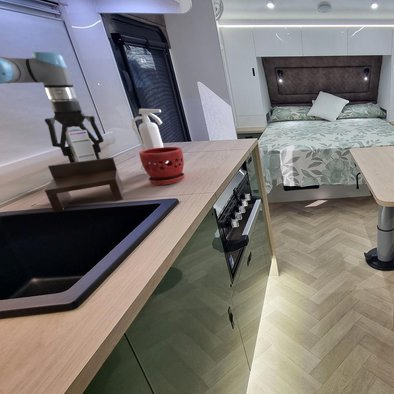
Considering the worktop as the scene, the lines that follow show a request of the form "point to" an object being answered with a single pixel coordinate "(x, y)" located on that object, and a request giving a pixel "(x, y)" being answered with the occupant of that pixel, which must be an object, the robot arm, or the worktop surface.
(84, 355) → the worktop surface
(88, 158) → the syrup box
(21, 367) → the worktop surface
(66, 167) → the bench
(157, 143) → the fire extinguisher
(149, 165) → the flower pot
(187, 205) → the worktop surface
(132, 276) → the worktop surface
